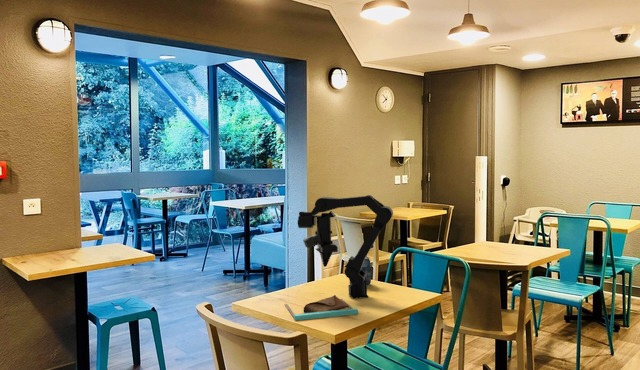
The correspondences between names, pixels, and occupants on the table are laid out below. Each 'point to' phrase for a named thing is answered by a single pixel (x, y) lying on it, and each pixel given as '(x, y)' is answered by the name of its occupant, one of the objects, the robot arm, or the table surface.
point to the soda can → (367, 270)
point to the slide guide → (323, 313)
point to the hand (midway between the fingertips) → (324, 266)
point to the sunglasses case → (325, 305)
